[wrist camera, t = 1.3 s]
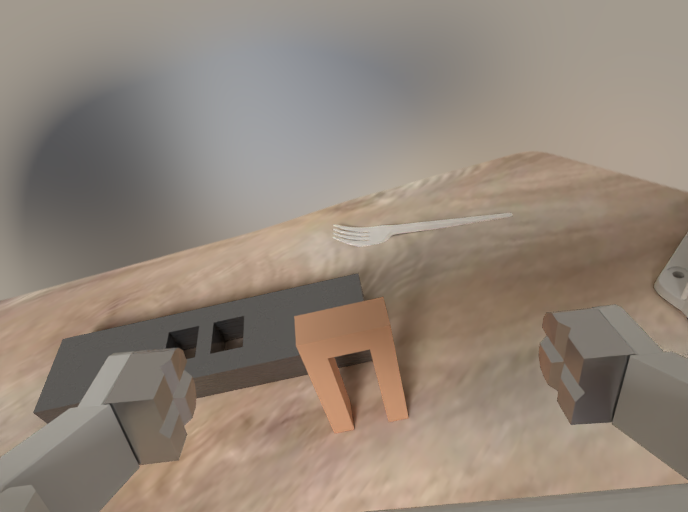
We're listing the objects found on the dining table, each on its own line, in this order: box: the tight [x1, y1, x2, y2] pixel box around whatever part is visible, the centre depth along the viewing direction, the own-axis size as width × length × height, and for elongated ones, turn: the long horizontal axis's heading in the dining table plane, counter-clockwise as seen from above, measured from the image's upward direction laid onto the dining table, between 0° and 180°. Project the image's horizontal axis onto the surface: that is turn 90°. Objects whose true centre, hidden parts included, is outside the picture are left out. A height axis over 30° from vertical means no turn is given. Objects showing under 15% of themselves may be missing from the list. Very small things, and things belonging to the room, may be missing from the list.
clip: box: [294, 297, 409, 433], centre depth 34 cm, size 2×6×12 cm, turn 97°
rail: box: [33, 274, 373, 424], centre depth 44 cm, size 8×30×3 cm, turn 97°
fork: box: [333, 213, 513, 247], centre depth 53 cm, size 3×20×2 cm, turn 91°
